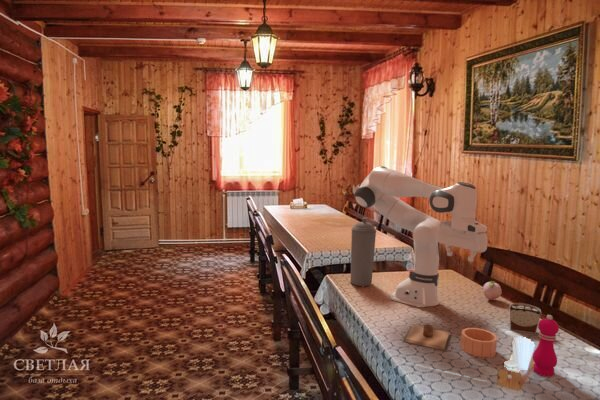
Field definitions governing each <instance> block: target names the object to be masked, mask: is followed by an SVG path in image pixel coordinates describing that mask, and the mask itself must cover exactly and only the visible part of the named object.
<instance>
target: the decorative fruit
mask: <svg viewBox="0 0 600 400" xmlns="http://www.w3.org/2000/svg"><path fill="white" fill-rule="evenodd" d="M482 289H483V294H484V297H485V298H486V299H487V300H489V301H494V300H497V299H498V298H500V297H501V295H502V290H503V289H502V288H501V285H500V284H499V283H497V282H496V281H494V280H490V281H488V282H485V284H483V287H482Z"/></svg>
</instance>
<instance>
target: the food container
mask: <svg viewBox="0 0 600 400" xmlns="http://www.w3.org/2000/svg"><path fill="white" fill-rule="evenodd" d="M507 310H508V312H509V325H510V327H509V328H510V329H509V330H511V331H515V332H521V333H529V334H535V335H536V334H537V331H538V324H539V322H540V317H541V316H543V313H542V310H541V308H539V307H537V306H534V305H532V304H528V303H523V302H514V303H510V305H509V307H508V309H507Z"/></svg>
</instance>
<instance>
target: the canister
mask: <svg viewBox="0 0 600 400" xmlns="http://www.w3.org/2000/svg"><path fill="white" fill-rule="evenodd" d="M366 220H368V217H362V221H359V222H356V223H355V225H354V226H353V227H351V244H350V245H351V246H350V247H351V249H350V283H351V285H354V286H356V287H357V286H358V287H368V286H371V285H372V283H373V281H372V280H373V269H374V259H375V249H376V248H375V247H376V235H377V234H376V233H377V229H376V228H375V227H374V225H373V224H372V223H370V222H367V221H366Z"/></svg>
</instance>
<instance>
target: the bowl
mask: <svg viewBox="0 0 600 400" xmlns="http://www.w3.org/2000/svg"><path fill="white" fill-rule="evenodd" d="M497 342H498V336H497V335H496V334H495V333H494V332H493V331H492V332H491V331H490V330H487V329H484V328H479V327H466V328H463V329H461V333H460V344H459V345H460V347H459V348H460V349H461V350H462V351H463V352H464V353H466V354H469V355H470V356H476V357H479V358H488V359H491V358H493V357H496V355H497V354H496V353H497V344H498V343H497Z"/></svg>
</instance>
